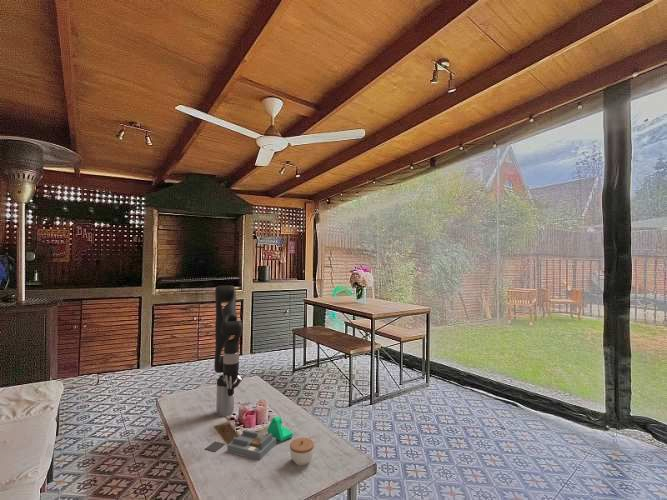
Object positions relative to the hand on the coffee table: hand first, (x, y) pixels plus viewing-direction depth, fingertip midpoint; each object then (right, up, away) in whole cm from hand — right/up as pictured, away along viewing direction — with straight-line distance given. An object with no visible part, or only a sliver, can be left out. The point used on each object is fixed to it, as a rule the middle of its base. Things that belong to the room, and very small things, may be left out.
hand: (230, 395), depth 166 cm
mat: (-5, -22, -7) cm, 23 cm away
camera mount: (+24, -23, +3) cm, 33 cm away
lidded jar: (+38, -22, -18) cm, 47 cm away
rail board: (+13, -22, -7) cm, 26 cm away
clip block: (+15, -20, -8) cm, 27 cm away
